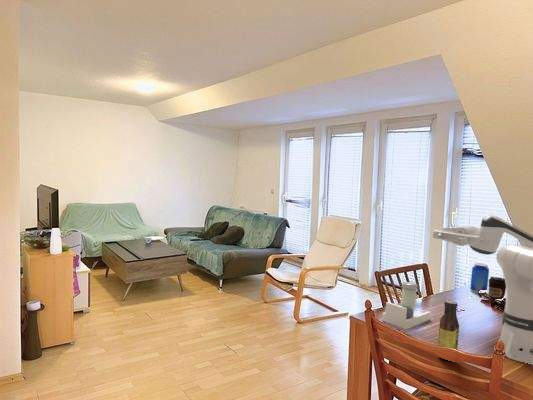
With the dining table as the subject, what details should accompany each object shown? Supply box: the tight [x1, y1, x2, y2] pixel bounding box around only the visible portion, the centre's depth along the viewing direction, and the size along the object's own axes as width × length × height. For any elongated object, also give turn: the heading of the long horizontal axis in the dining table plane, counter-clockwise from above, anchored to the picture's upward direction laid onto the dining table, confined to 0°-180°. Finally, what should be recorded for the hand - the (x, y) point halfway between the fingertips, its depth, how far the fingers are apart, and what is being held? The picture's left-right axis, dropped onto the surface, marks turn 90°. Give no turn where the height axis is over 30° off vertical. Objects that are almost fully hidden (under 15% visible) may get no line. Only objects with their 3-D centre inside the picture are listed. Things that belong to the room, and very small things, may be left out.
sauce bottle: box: [437, 299, 460, 351], centre depth 135 cm, size 7×6×20 cm
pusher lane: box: [381, 301, 431, 331], centre depth 169 cm, size 11×20×8 cm, turn 131°
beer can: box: [469, 262, 490, 295], centre depth 219 cm, size 8×8×16 cm
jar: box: [400, 281, 418, 317], centre depth 169 cm, size 6×6×16 cm
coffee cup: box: [488, 276, 506, 304], centre depth 201 cm, size 9×8×13 cm
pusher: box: [395, 303, 413, 320], centre depth 166 cm, size 8×4×6 cm, turn 41°
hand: (449, 238), depth 175 cm, fingers open, 8 cm apart
